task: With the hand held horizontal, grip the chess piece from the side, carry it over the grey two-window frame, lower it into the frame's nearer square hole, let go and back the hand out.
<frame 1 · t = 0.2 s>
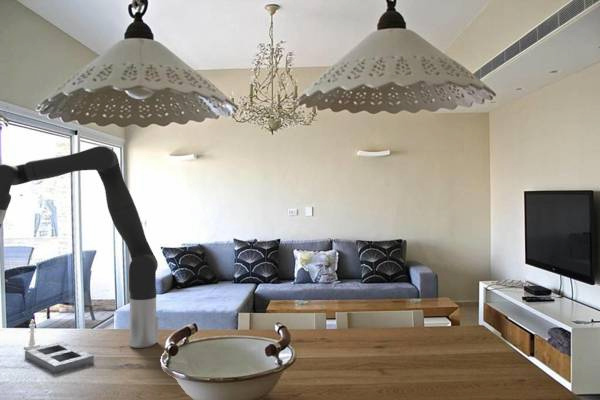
grey two-window frame: (58, 360, 145), on the table
chess piece: (31, 347, 158), on the table
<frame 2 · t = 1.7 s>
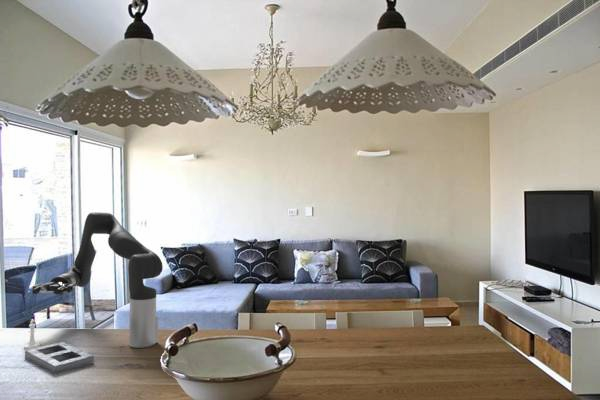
hand: (46, 291, 169), 18 cm above the table, tool horizontal, fingers open, 8 cm apart
nothing on the table moved.
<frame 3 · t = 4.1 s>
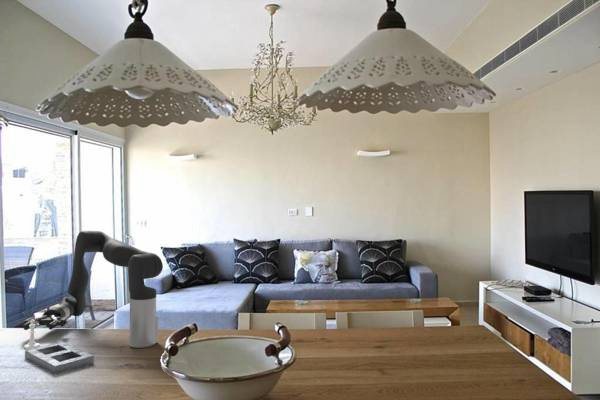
hand: (37, 327, 162), 6 cm above the table, tool horizontal, fingers open, 8 cm apart
nothing on the table moved.
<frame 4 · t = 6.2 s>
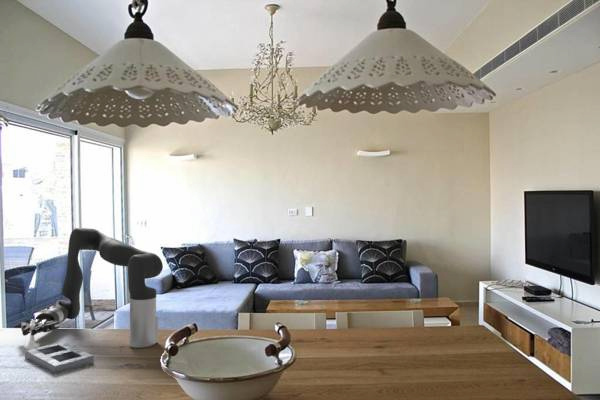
hand: (28, 332, 155), 6 cm above the table, tool horizontal, fingers closed on chess piece
chess piece: (31, 347, 158), on the table, touching gripper
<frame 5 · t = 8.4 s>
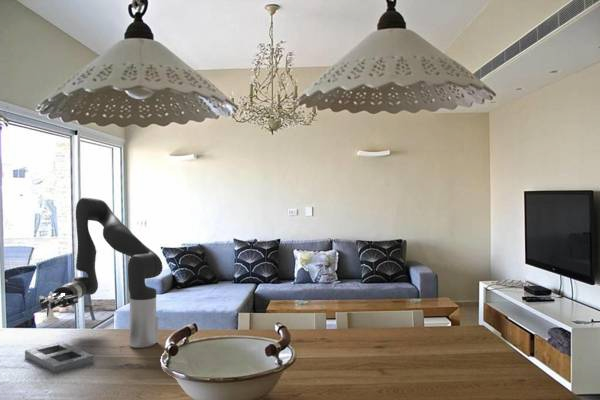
hand: (47, 305, 146), 18 cm above the table, tool horizontal, fingers closed on chess piece
chess piece: (50, 322, 149), point 11 cm above the table, touching gripper
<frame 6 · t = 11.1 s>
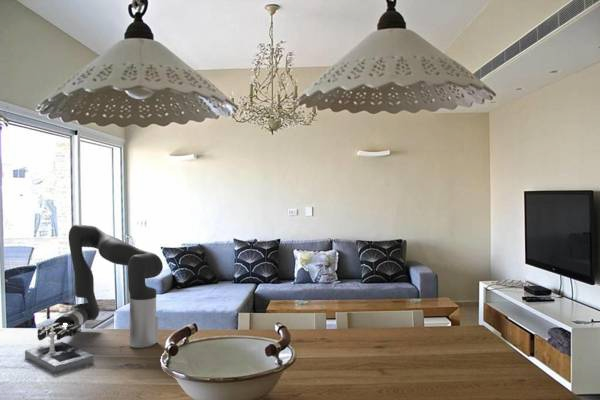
hand: (49, 337, 146), 8 cm above the table, tool horizontal, fingers open, 5 cm apart
chess piece: (51, 357, 148), resting in grey two-window frame
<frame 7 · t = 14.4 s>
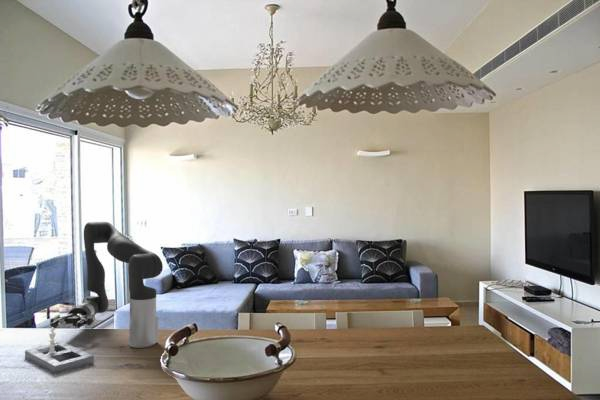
hand: (65, 325, 159), 7 cm above the table, tool horizontal, fingers open, 8 cm apart
nothing on the table moved.
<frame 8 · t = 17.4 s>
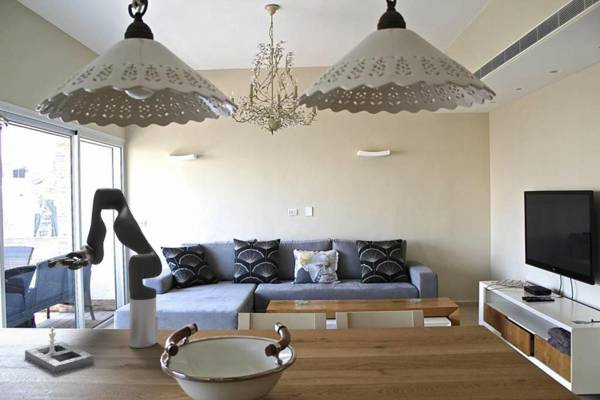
hand: (61, 265, 167), 28 cm above the table, tool horizontal, fingers open, 8 cm apart
nothing on the table moved.
at the end: chess piece 0.2 cm from the target spot on the grey two-window frame, point 0.0 cm above the grey two-window frame's base; chess piece tilted 0°; the gripper is holding nothing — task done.
